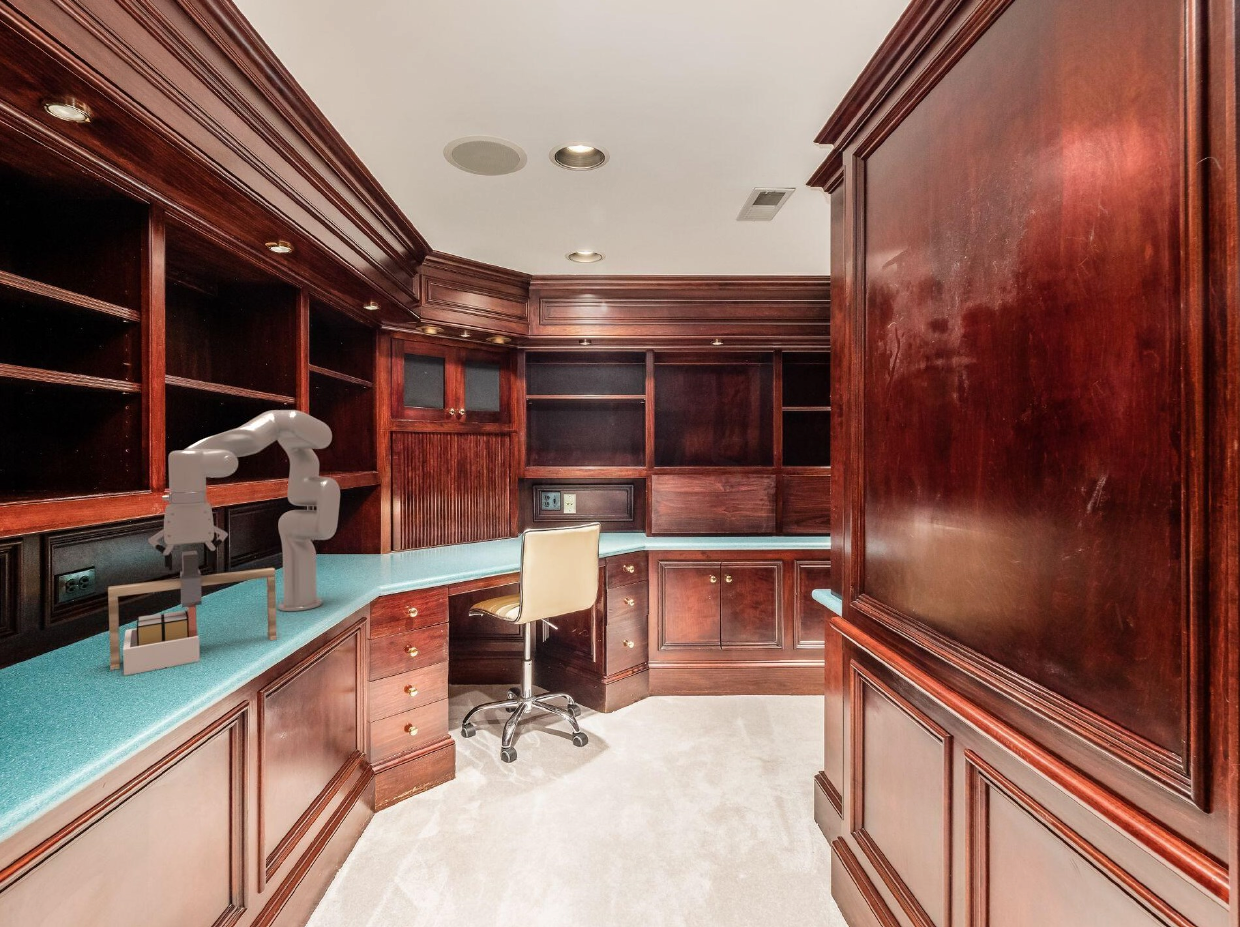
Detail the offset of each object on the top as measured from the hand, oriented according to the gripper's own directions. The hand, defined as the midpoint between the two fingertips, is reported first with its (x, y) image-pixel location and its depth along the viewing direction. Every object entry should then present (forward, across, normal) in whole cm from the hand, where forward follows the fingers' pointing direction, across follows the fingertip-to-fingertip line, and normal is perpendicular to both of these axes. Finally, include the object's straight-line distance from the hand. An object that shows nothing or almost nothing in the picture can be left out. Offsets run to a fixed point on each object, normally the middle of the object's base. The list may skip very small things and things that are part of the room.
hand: (190, 567), depth 149 cm
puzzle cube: (+22, -6, 0) cm, 23 cm away
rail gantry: (+22, +1, 0) cm, 22 cm away
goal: (+22, -6, 0) cm, 23 cm away
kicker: (+20, 0, 0) cm, 20 cm away
